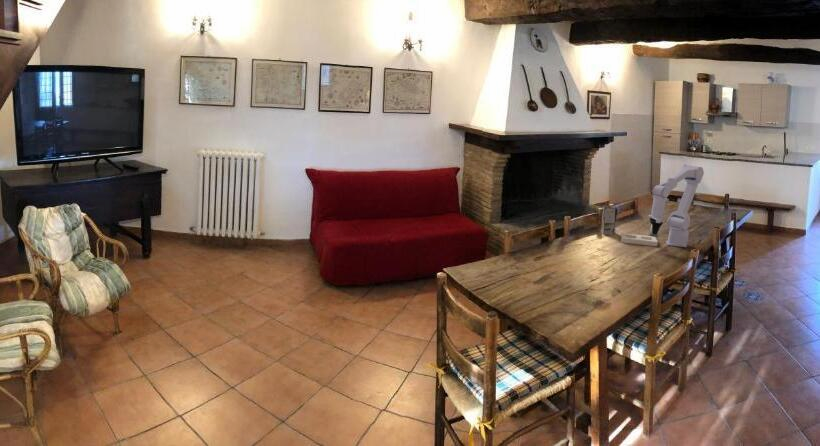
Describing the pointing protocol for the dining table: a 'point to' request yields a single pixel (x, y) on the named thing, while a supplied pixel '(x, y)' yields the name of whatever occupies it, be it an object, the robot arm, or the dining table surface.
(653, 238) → the socket block
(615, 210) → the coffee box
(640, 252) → the dining table surface
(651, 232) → the sleeve
